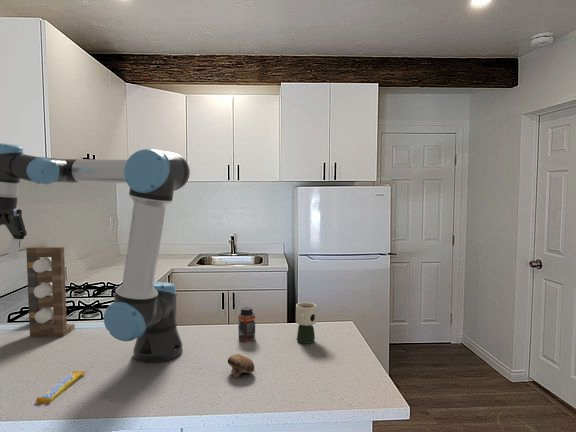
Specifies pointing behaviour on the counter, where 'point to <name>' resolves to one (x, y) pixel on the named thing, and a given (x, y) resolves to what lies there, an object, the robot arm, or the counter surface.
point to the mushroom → (240, 364)
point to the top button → (42, 265)
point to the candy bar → (60, 387)
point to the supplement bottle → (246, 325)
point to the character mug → (305, 321)
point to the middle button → (43, 290)
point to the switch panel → (55, 301)
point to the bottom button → (44, 315)
